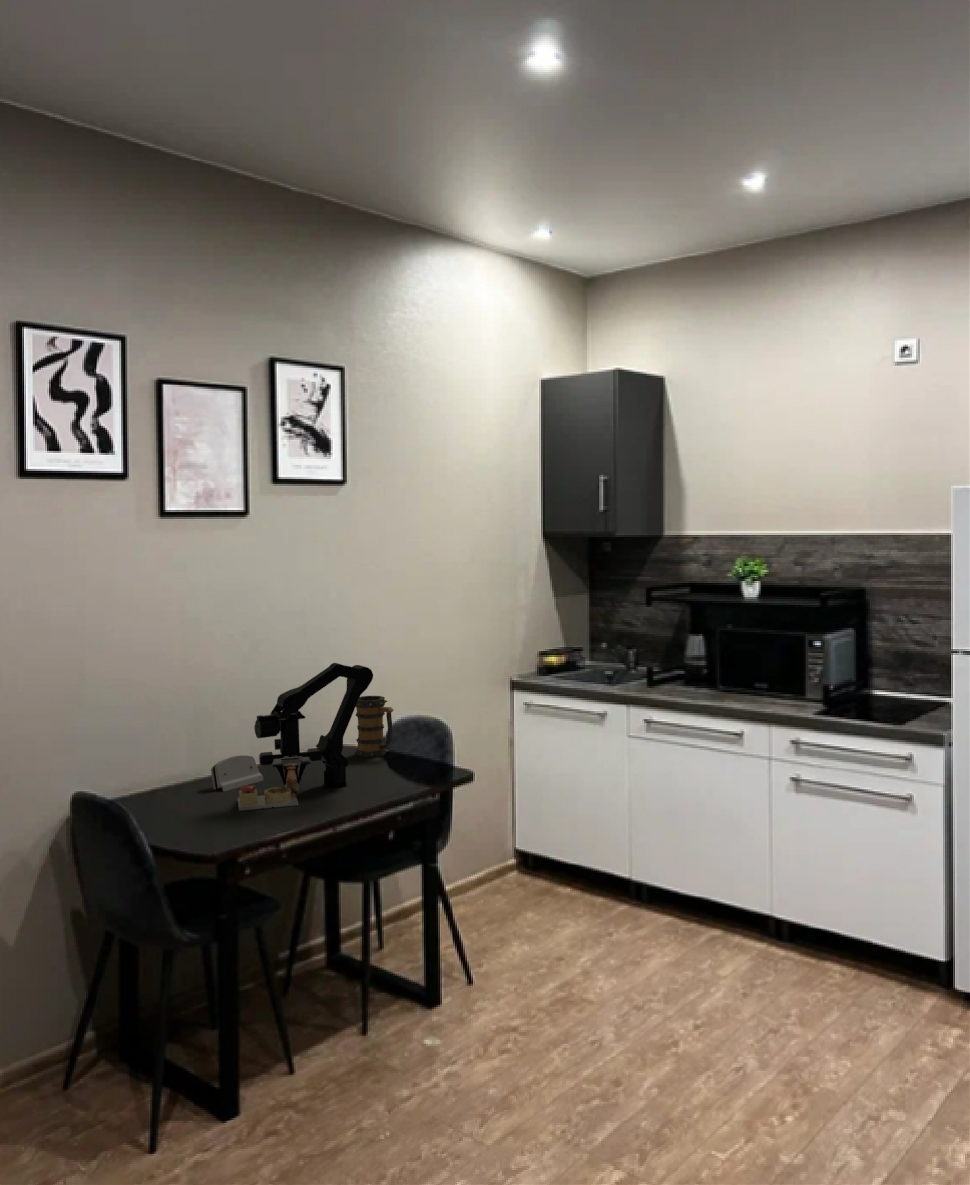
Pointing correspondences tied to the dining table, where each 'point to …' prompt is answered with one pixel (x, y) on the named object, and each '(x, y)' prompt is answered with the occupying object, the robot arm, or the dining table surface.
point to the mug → (372, 726)
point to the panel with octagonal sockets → (265, 798)
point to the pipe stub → (291, 776)
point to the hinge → (235, 772)
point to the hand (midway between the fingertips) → (291, 783)
